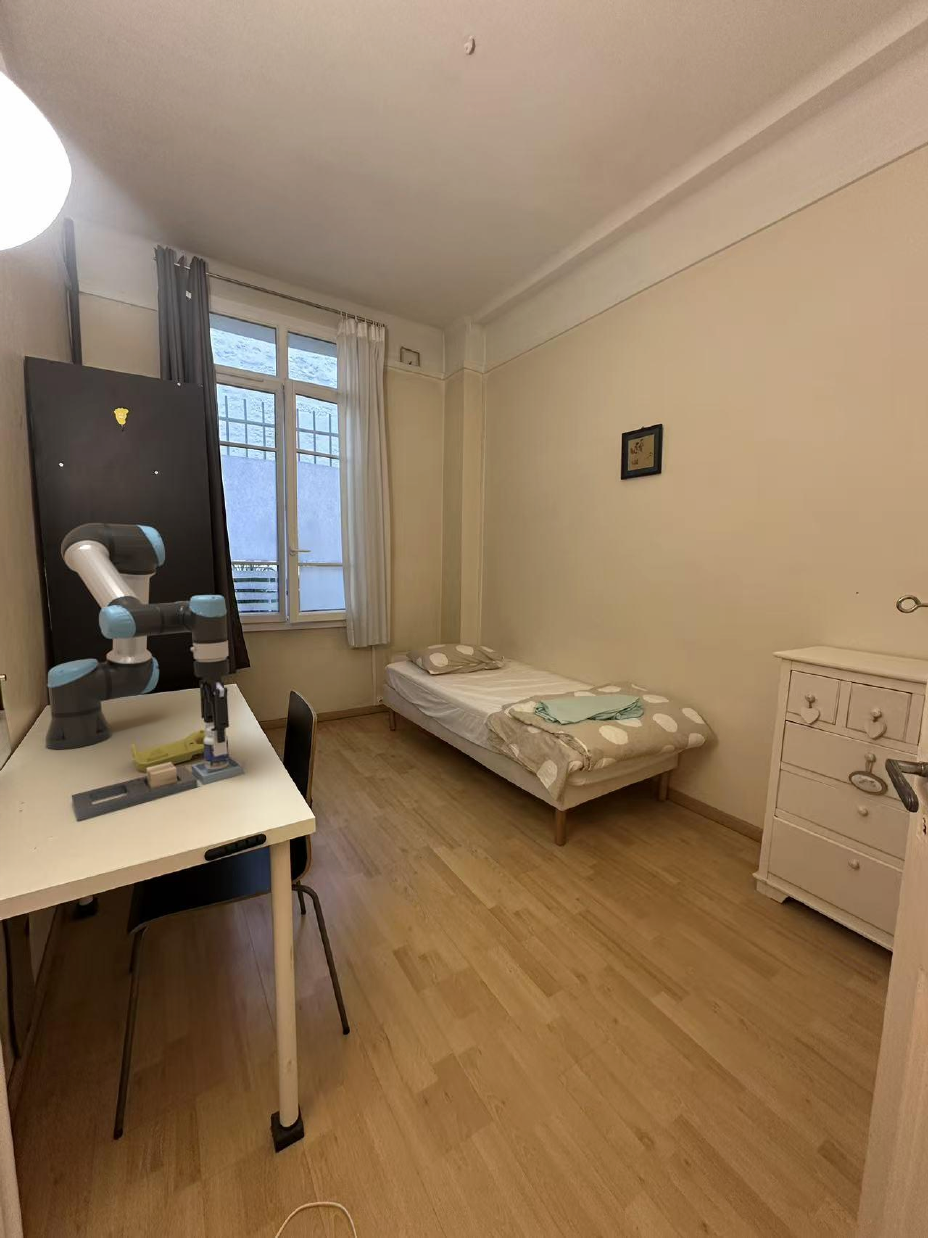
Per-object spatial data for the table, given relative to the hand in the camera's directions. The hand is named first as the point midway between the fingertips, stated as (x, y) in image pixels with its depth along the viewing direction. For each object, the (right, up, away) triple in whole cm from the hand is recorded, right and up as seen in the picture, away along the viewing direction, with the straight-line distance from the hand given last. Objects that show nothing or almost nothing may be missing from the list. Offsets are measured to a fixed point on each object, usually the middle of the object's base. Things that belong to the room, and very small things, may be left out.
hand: (216, 750), depth 120 cm
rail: (-12, -7, -11) cm, 18 cm away
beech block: (-9, -7, -8) cm, 13 cm away
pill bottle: (0, -4, 0) cm, 4 cm away
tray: (0, -6, +1) cm, 6 cm away
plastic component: (-15, -5, +10) cm, 19 cm away
